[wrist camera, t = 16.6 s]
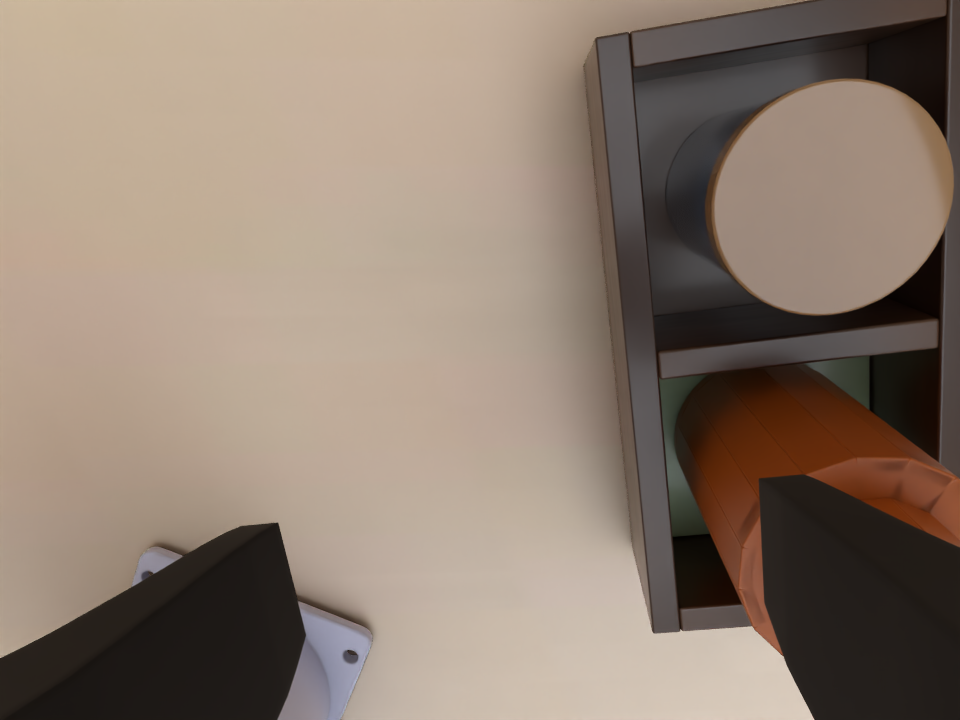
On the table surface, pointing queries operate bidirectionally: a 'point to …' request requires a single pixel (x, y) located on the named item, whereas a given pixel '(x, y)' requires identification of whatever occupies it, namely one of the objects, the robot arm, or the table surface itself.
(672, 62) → the divided storage box
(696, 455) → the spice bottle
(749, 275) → the blue jar
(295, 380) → the table surface
